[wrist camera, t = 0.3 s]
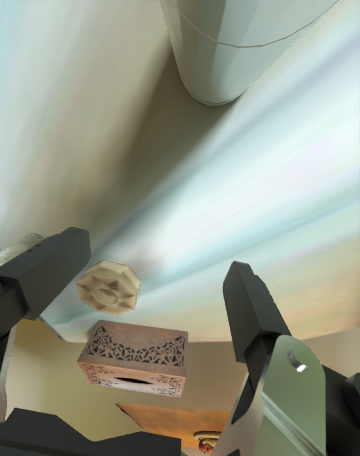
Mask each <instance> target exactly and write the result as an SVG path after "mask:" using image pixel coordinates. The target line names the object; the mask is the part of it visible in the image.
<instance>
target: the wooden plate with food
mask: <svg viewBox="0 0 360 456" xmlns="http://www.w3.org/2000/svg"><path fill="white" fill-rule="evenodd" d="M220 435H221V432H213V431H200V432H196V433H195V434H194V438H195V439H196V440H198V441H200V442H199V449H200V451H204V453H205V452H207V451H208V453H210V454H211V453H212V451H213V448H214V446H215V444H216V442H217V440H218V438H219V437H220Z"/></svg>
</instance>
